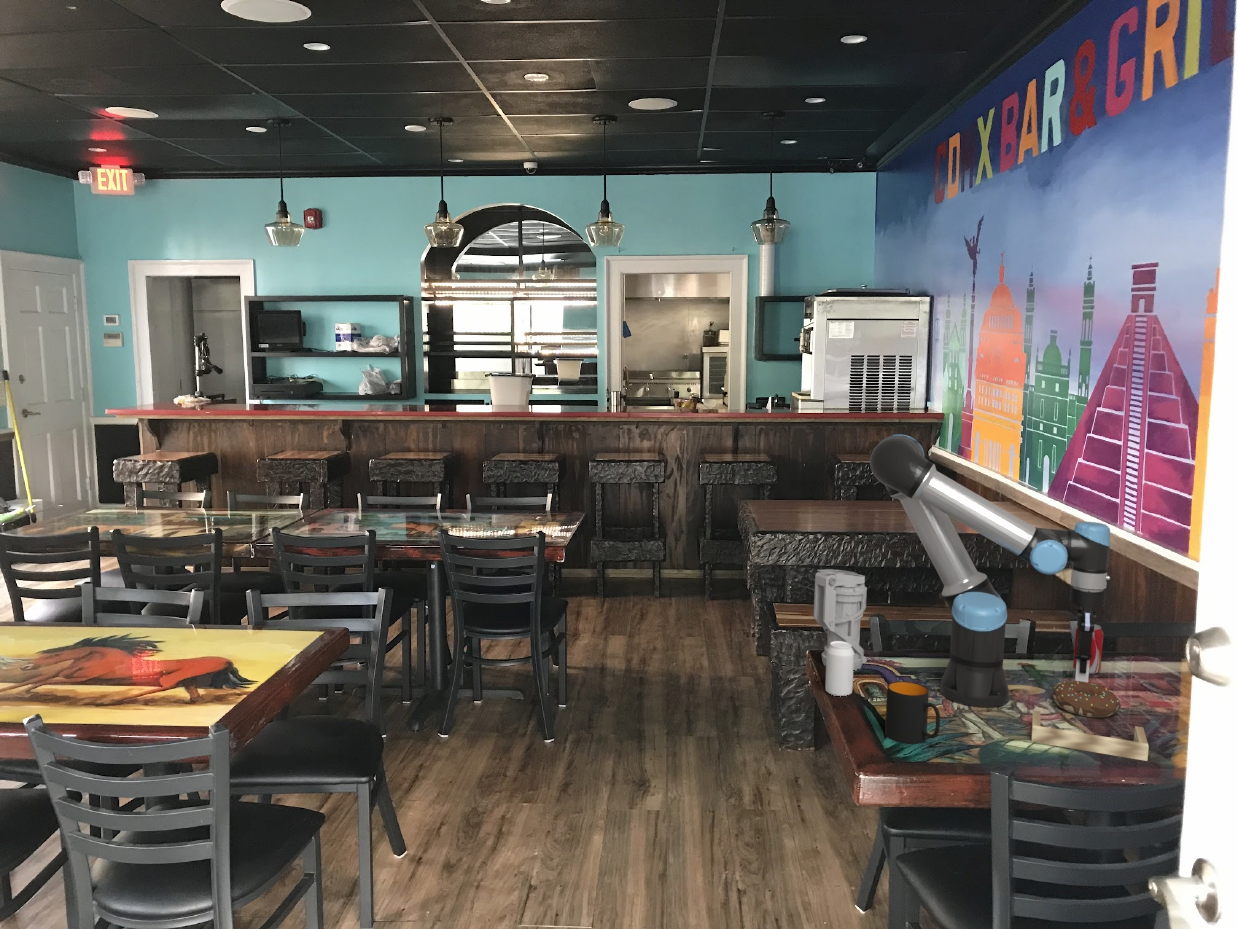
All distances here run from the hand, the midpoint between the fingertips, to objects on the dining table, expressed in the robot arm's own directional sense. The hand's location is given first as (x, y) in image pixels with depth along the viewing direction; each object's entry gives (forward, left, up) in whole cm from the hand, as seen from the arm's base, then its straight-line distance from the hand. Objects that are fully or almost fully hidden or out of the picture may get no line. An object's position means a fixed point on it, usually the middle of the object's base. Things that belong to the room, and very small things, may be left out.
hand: (1081, 684), depth 220 cm
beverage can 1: (-52, -28, -2) cm, 59 cm away
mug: (-33, -47, -2) cm, 57 cm away
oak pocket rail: (0, -32, -2) cm, 32 cm away
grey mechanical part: (-56, -8, -2) cm, 57 cm away
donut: (0, -12, -2) cm, 12 cm away
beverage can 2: (+2, +16, -2) cm, 17 cm away
